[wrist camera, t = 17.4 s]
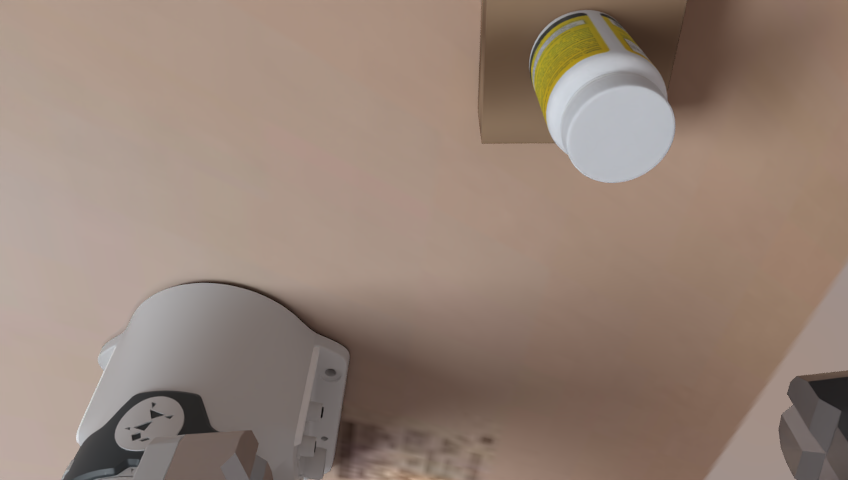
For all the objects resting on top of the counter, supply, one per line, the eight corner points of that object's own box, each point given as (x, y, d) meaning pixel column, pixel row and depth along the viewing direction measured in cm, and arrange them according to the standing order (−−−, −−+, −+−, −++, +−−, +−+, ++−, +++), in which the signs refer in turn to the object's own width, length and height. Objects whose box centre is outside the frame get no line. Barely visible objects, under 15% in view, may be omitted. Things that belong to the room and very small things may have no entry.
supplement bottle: (519, 100, 31) (542, 185, 24) (539, 2, 28) (571, 67, 22) (613, 109, 31) (663, 197, 24) (642, 13, 29) (707, 82, 22)
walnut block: (636, 110, 36) (656, 142, 32) (477, 111, 36) (481, 143, 33) (669, -63, 30) (697, -46, 27) (483, -61, 31) (488, -43, 27)
